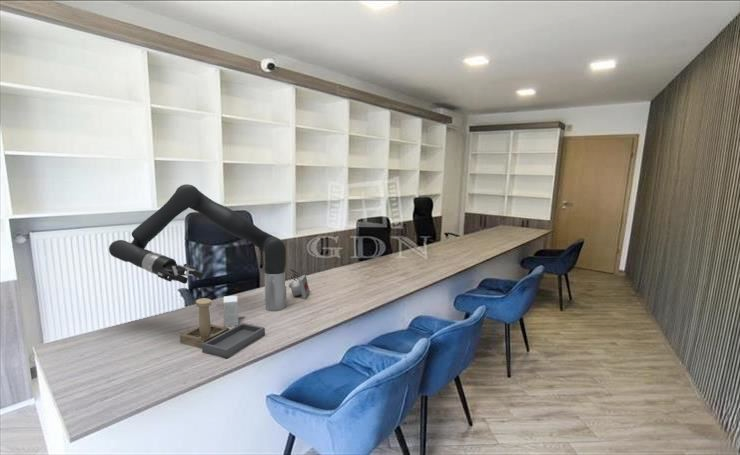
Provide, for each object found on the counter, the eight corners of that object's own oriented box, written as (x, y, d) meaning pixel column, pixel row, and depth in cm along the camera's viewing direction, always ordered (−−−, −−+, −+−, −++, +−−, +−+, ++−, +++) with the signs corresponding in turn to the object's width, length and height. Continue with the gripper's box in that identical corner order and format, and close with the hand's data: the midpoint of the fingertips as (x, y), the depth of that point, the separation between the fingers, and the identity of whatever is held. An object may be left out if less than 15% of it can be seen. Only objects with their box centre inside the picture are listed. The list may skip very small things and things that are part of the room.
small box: (224, 319, 153) (223, 296, 151) (238, 318, 155) (237, 294, 153) (223, 327, 145) (222, 302, 144) (238, 325, 147) (237, 301, 146)
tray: (242, 330, 143) (242, 322, 142) (264, 334, 139) (264, 327, 138) (202, 352, 124) (201, 344, 124) (226, 358, 120) (226, 350, 120)
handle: (207, 334, 138) (206, 297, 136) (215, 339, 134) (214, 301, 132) (195, 338, 134) (193, 300, 132) (202, 343, 130) (200, 304, 128)
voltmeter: (316, 297, 183) (316, 278, 182) (295, 301, 177) (294, 282, 176) (295, 284, 205) (295, 267, 204) (276, 287, 199) (276, 270, 197)
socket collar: (206, 330, 142) (205, 323, 142) (229, 335, 137) (229, 328, 137) (180, 342, 131) (179, 335, 130) (204, 349, 126) (204, 341, 126)
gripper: (145, 258, 128) (183, 272, 125) (175, 252, 142) (209, 265, 139) (141, 277, 129) (178, 292, 126) (171, 270, 143) (205, 283, 140)
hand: (194, 278), depth 133 cm, fingers open, 8 cm apart
